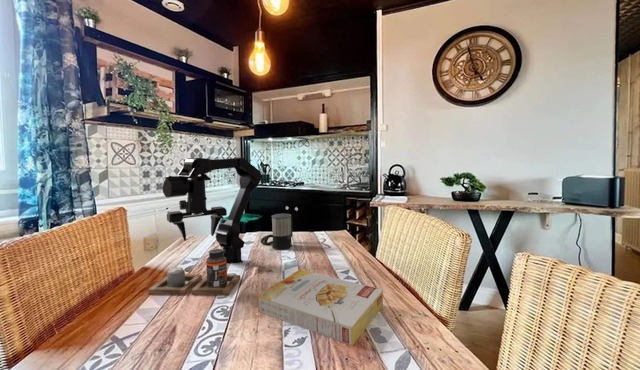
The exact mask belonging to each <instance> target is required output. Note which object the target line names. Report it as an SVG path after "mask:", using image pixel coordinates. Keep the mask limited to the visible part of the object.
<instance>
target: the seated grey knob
mask: <svg viewBox="0 0 640 370" xmlns="http://www.w3.org/2000/svg"><path fill="white" fill-rule="evenodd" d="M185 275H186V271H185V269H184V268H183V267H174V268H170V269H169V270H168V272H167V273H166V276H167V284H168V287H183V286H185Z"/></svg>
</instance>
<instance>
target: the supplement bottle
mask: <svg viewBox="0 0 640 370" xmlns="http://www.w3.org/2000/svg"><path fill="white" fill-rule="evenodd" d="M208 254H209V256H208V257H207V259H206V262H205V265H206V276H207V287H208V288H223V287H225V286H226V285H227V275H228V270H227V269H228V268H227V267H228V263H226V257H225V256H224V255H223V248H222V249H221V248H215V249H211V250H209V251H208Z"/></svg>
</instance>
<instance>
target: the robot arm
mask: <svg viewBox="0 0 640 370" xmlns="http://www.w3.org/2000/svg"><path fill="white" fill-rule="evenodd" d="M226 169H235V172H236V174H237V175H238V176H239V180H238V181H239V189H238V192H237V194H236V197H235V199H234V202H233V204H232V207H231V209H230V212H229V215H228V211H227V208H226V207H224V206H219V205H218V206H212V207H211V208H210V209H208V208H207V197H206V195H207V194H206V181H211V177H209V176H208V173H211V172H213V171H215V170H226ZM164 178H165V179H164V181H163V183H162V187H161V188H162V194H163V195H164V196H165V197H166V198H173V197H182V196H186V195H187V200H186V199H181V200H179V203H178V204H179V205H178V206H179V210H175V211H174V210H173V211H168V212H167V213H166V221H168V222H169V223H171V224H173V225H175V226H177V228H178V229H179V231H180V234H181V237H182V239H183V240H184V242H185V241H186V240H187V234H186V226H185V221H183V220H184V219H187V218H189V219H190V218H196V217H204V216H210V235H211V237H214V235H215V239H216V242H217V243H218V244H219V246H220V247H221V248H222V250H223V255H224V256H225V257H226V263H227V264H242V263H244V260H242V248H244V246H245V240H243V239H242V238H240V233H241V231H240V230H241V229H240V223H241V220H242V219H243V216H244V214H245V209H246V208H247V205H248V202H249V201H250V198H251V195H252V194H253V193H252V192H253V191H254V190H255V189H256V188H257V187H259V184H260V183H261V181H262V179H263V175H262V172H261V171H260V170H259V169H257V167H255V166H254V165H253V164H252V163H250V162H248V161H247V160H246V158H244V157H239V156H238V157H233V158H232V157H230V158H220V159H219V158H218V159H217V158H216V159H210V158H205V157H189V158H188V157H187V158H186V159H185V161H183V165H182V168H181V169H180V171H179V172H178V173H177V175H174V176H173V175H166V176H165V177H164ZM182 211H185V212H182ZM227 215H228V216H227ZM225 216H227V219H226V220H225V222H224V223H223V222H221V220H222V219H224V217H225Z"/></svg>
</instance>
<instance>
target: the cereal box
mask: <svg viewBox="0 0 640 370" xmlns="http://www.w3.org/2000/svg"><path fill="white" fill-rule="evenodd" d="M383 301H384V290H383V289H381V288H376V287H373V286H370V285H365V284H360V283H359V282H358V283H357V282H353V281H350V280H346V279H341V278H337V277H333V276H329V275H325V274H322V273H317V272H314V271H309V270H305V269H301V268H300V269H298V270H296V271H295V272H293V273H292V274H290V275H288V276H287V277H285V278H284V279H282V280H281V281H279V282H277V283H276V284H273V285H272V286H271V287H269V288H267V289H266V290H264V291H263V292H262V291H261V293H259V294H258V295H257V309H258V310H257V311H258V313H261V314H263V315H267V316H269V317H271V318H275V319H278V320H281V321H282V322H286V323H289V324H291V325H294V326H297V327H300V328H303V329H305V330H308V331H311V332H314V333H316V334H320V335H322V336H325V337H328V338H330V339H333V340H336V341H339V342H341V343H345V344H347V345H349V346H354V344H355V343H356V342H357V341H358V339H359V337H361V335H362V334H363V333H364V331H365V330H366V328H368V327H369V325H370V323H371V322H372V321H373V319H374V318H375V317H376V316H377V315H378V313H379V311H381V310H382V307H383V306H384V304H383V303H384V302H383Z"/></svg>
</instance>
